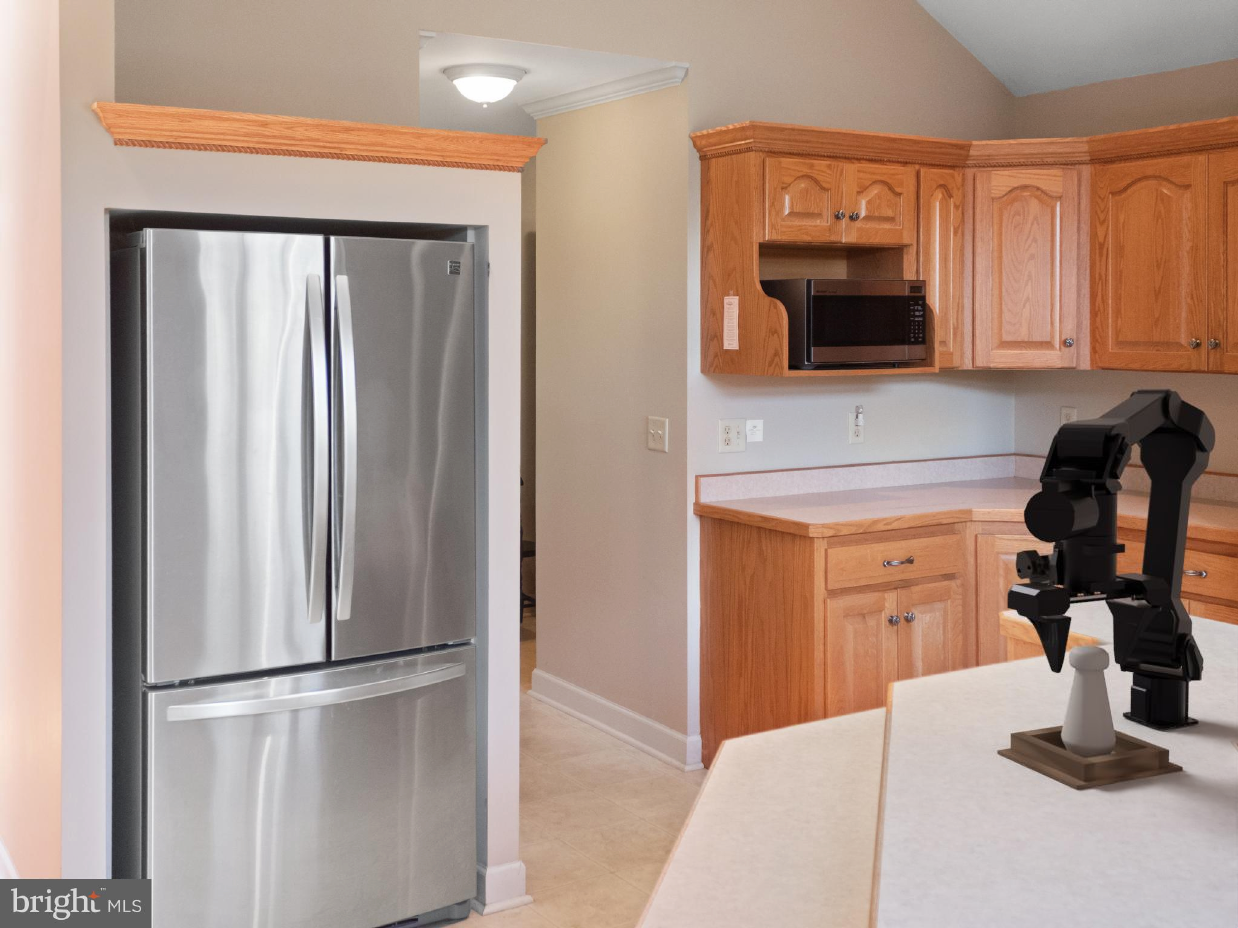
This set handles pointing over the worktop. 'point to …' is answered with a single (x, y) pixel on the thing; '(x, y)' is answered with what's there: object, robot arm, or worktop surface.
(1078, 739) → the salt shaker
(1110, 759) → the brown flat rectangular frame
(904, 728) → the worktop surface
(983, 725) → the worktop surface
